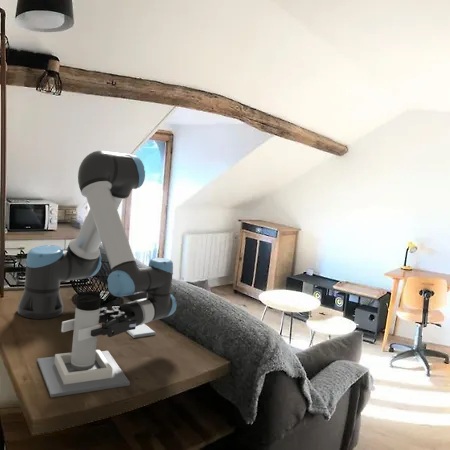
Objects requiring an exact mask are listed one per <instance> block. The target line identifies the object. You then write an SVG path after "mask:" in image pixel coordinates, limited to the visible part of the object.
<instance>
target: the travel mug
mask: <svg viewBox="0 0 450 450" xmlns="http://www.w3.org/2000/svg"><path fill="white" fill-rule="evenodd" d="M101 298H102V296H101V293H100V292H97V291H93V292H83V293H80V294H79V295H77V297H76V302H75V303H76V304H75V311H74V313H75V314H74V319H75V321H74V330H73V335H72V347H71V353H72V354H71V367H72V368H73V369H76V370H89V369H91V368H93V367H94V365H95V355H96V350H97V344H98V343H97V342H98V336H95V337H91V338H88V339H85V340H82V341H79V340H78V333H79V330H81V329H85V328H88V327H92V326H95V325H100V323H99V314H100V309H101V300H102V299H101Z"/></svg>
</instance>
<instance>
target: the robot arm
mask: <svg viewBox="0 0 450 450" xmlns="http://www.w3.org/2000/svg"><path fill="white" fill-rule="evenodd" d="M145 179H146V170H145V165H144V163H143V161H142V160H141V158H140V157H138V156H137V155H135V154H129V153H127V152H126V153H121V152H115V151H114V152H113V151H106V150H96V151H93V152H91V153H89V154H87V155H86V156H85V157H84V158H83V159H82V161H81V162H80V164H79V168H78V173H77V183H78V187H79V191H80V193H81V195H82V196H83V198H86V200H87V203H88V206H89V211H88V213H87V215H86V217H85V219H84V221H83V223H82V225H81V228H80V230H79V232H78V234H77V236H76V238H73V239H71V240H70V242H69V243H68V245H67V247H66V248H62V247H61V246H59V245H55V244H54V245H46V244H45V245H38V246H35V247H33V248H31V249H30V250H29V251H28V252H27V255H26V261H25V277H24V288H23V289H24V290H23V292H22V295H21V298H20V300H19V303H18V305H17V315H20V316H21V317H23V318H27V319H33V320H47V319H53V318H57V317H59V316H61V315H62V314H63V312H64V303H63V299H62V296H61V292H60V289H61V282H68V281H75V280H83V279H84V280H85V279H88V278H92V277H94V276H95V275H97V274H98V273H99V271H100V269H101V267H102V255H101V249H100V246H101V244H102V246H103V247H102V248H103V249H104V253H105V255H106V258H107V259H106V260H107V261H108V264H109V267H110V270H111V273H109V274H108V277H107V288H108V289H107V290H108V291H109V293H110V295H112V296H114V297H117V298H118V297H128V296H132V295H137V294H142V293H146V297H144V298H140V299H135V300H133V301H128V302H123V303H122V304H121V305H120V306H119V308H116V309H112V310H108V307H106V306H104V307H100V314H99V324H98V325H95V326H92V327H88V328H85V329H81V330H79V333H78V340H79V341H82V340H85V339H88V338H91V337H95V336H97V337H98V336H106V335H107V337H108V338H112V337H115V336H118V335H121V334H123V333H126V331H128V330H134V329H135V327H136V326H138V325H142V324H145V325H146V324H147V323H150V322H151V323H152V322H155V321H158V320H160V319H161V320H162V319H165V318H168V317H169V316H171V315H173V314H174V313H175V312H176V310H177V305H178V304H177V301H176V297H174V295H173V294H171V292H172V291H171V290H172V283H173V275H174V263H173V261H172V260H171V259H169V258H165V257H154V258H153V257H152V258H151V259H150V260H149V263H148V266H143V267H138V265H137V264H138V263H137V261H136V259H135V256H134V254H133V251H132V247H131V245H130V242H129V239H128V237H127V234H126V231H125V228H124V225H123V223H122V220H121V217H120V214H119V212H118V209H119V207H120V204H121V203H122V201H123V200H125V199H128V198H129V197H130V194H131V193H132V190H136V189H138V188H141V186H143V184H144V182H145ZM74 321H75V318H72V319H68V320H64V321H62V322H61V330H60V332H61V333H66V332H69V331H74Z"/></svg>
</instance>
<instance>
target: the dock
mask: <svg viewBox="0 0 450 450" xmlns="http://www.w3.org/2000/svg"><path fill="white" fill-rule="evenodd" d="M71 354H72V352H64V353H55V354H54V356H48V357H46V356H45V357H38V358H36V361H37V364H38V367H39V370H40V372H41V375H42V378H43V380H44V383H45V386H46V388H47V390H48V394H49V396H50V398H56V397H62V396H69V395H75V394H83V393H88V392H89V393H90V392H95V391H101V390H103V391H104V390H109V389H115V388H116V389H117V388H121V387H128V386H130V385H131V382H130V380H129V378H128V377H127V376H126V375H125V372H123V370H122V369H121V368H120V365H118V363H117V362H116V360H115V359H114V357H113V355H111V353H110V352H109V350H102V351H101V349H96V355H95V365H94V367H93V368H91V369H89V370H76V369H73V368H72V367H71Z"/></svg>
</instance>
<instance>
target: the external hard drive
mask: <svg viewBox="0 0 450 450" xmlns="http://www.w3.org/2000/svg"><path fill="white" fill-rule="evenodd" d="M125 333H127V334H128V335H130V336H131V337H132V338H133V339H134V338H135V339H136V338H142V337H149V336H155V335H156V331H155V330H153V329H152V328H150V327H149V326H148V325H147V324H146V323H145V324H142V325H138V326H136V327H135V329H134V330H128V331H125Z"/></svg>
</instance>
